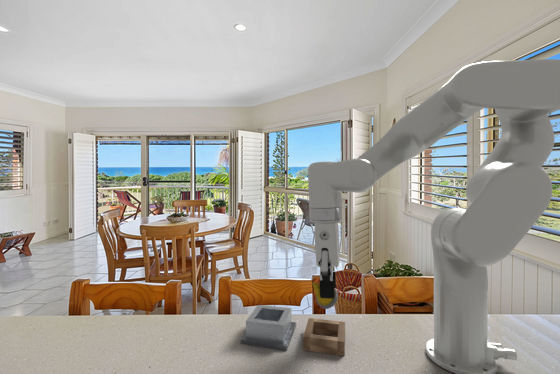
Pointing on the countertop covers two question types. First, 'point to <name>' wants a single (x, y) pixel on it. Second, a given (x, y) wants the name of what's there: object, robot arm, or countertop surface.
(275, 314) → the grey hollow square block
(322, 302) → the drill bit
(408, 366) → the countertop surface
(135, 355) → the countertop surface
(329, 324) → the socket block
